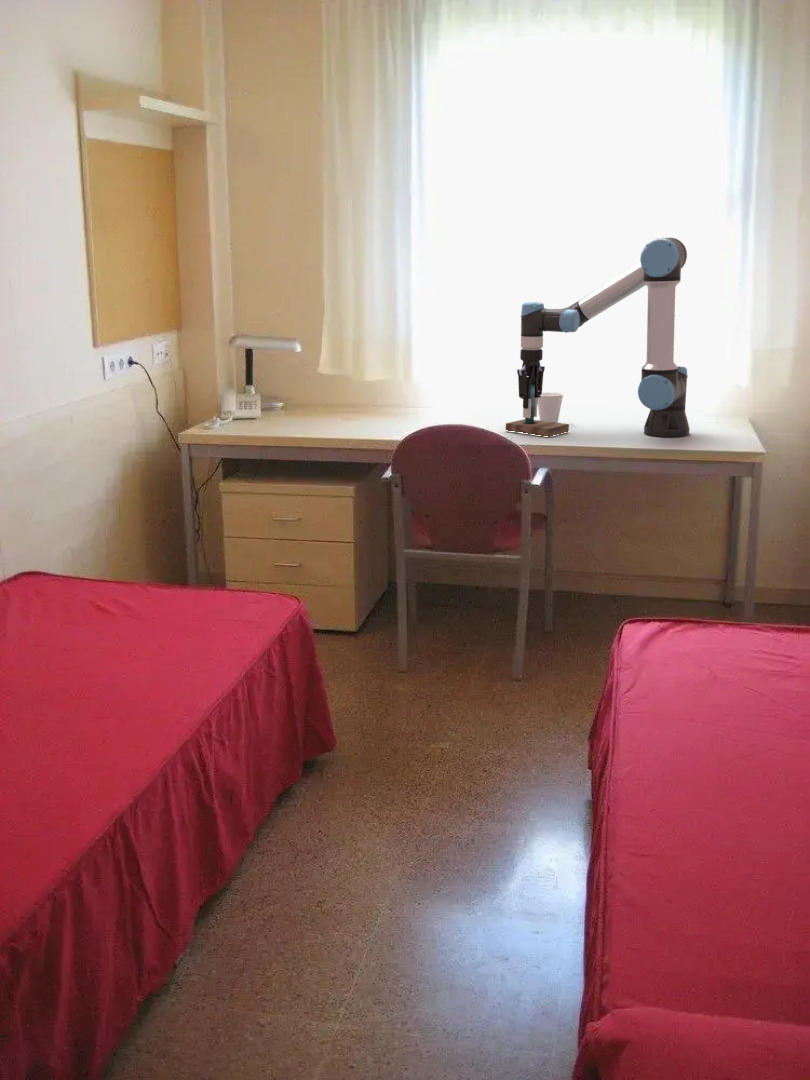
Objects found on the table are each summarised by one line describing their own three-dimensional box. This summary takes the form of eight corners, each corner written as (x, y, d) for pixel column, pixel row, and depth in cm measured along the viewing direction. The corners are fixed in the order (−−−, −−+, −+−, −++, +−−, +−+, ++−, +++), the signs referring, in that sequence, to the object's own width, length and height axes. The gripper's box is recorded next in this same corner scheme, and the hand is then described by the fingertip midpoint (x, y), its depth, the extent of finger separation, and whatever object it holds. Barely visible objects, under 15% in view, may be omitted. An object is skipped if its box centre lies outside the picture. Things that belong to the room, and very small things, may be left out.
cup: (543, 427, 406) (544, 396, 403) (530, 423, 415) (530, 393, 412) (567, 425, 410) (568, 394, 407) (554, 421, 419) (555, 391, 416)
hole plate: (568, 432, 396) (568, 424, 395) (548, 437, 387) (549, 428, 386) (525, 427, 407) (526, 418, 406) (505, 431, 399) (505, 423, 398)
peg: (535, 425, 399) (536, 385, 395) (530, 426, 397) (531, 386, 393) (528, 424, 401) (529, 384, 397) (523, 425, 399) (524, 385, 395)
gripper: (536, 345, 400) (534, 413, 406) (508, 349, 388) (507, 418, 394) (554, 347, 395) (552, 415, 401) (526, 351, 383) (525, 421, 390)
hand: (529, 416), depth 398 cm, fingers closed on peg, 3 cm apart
